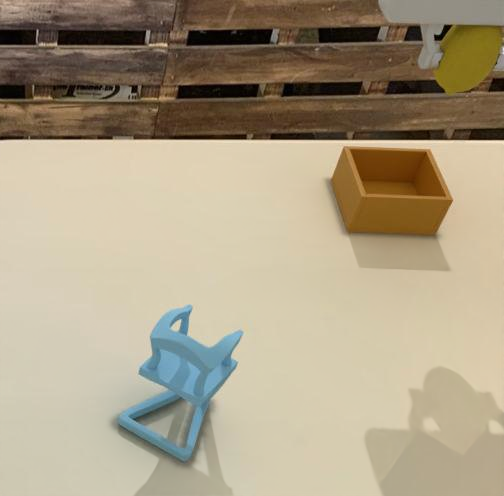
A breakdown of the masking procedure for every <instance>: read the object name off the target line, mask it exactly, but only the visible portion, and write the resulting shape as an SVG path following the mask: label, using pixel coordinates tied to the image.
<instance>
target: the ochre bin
mask: <svg viewBox="0 0 504 496" xmlns="http://www.w3.org/2000/svg"><path fill="white" fill-rule="evenodd" d="M332 173H333V174H332V176H331V178H330V183H331V187H332V190H333V192H334V195H335V198H336V203H337V204H338V208H339V211H340V214H341V217H342V220H343V222H344V226H345V229H346V232H347V233H371V234H394V235H396V234H398V235H420V236H421V235H423V236H424V235H425V236H436V235H437V233H438V231H439V229H440V227H441V226H442V223H443V221H444V219H445V218H446V215H447V213H448V211H449V209H450V208H451V206H452V204H453V202H454V198H453V196H452V194H451V192H450V190H449V187H448V185H447V183H446V181H445V179H444V176H443V174H442V172H441V170H440V168H439V166H438V163H437V161H436V159H435V157H434V155H433V153H432V150H431V149H430V148H408V147H407V148H406V147H405V148H404V147H377V146H354V145H353V146H350V145H343V148H342V150H341V153H340V156H339V158H338V160H337V162H336V166H335V168H334V171H333V172H332Z"/></svg>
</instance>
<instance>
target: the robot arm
mask: <svg viewBox="0 0 504 496" xmlns="http://www.w3.org/2000/svg"><path fill="white" fill-rule="evenodd" d="M377 3H378V6H379V9H380V13H382V15H383V16H384V19H385V20H386V21H387V22H388V23H390V24H417V25H418V24H419V27H420V32H421V39H422V49H421V51H420V54H419V56H418V58H417V65H418V67H419V69H420V70H433V69H437V68H438V65H439V63H438V62H439V61H440V60H441V59H442V56H443V54H444V52H443V50H442V49H440V48H441V47H440V43H436V42H435V41H436V40H435V36H439V35H441V34H442V32H443V29H444V27H445V25H454V24H455V25H492V26H501V27H504V0H377ZM491 72H504V44H502V46H501V50H500V53H499V56H498V59H497V61H496V63H495V65H494V67H493V69H492V70H491Z"/></svg>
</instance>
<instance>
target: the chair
mask: <svg viewBox="0 0 504 496" xmlns="http://www.w3.org/2000/svg"><path fill="white" fill-rule="evenodd" d="M193 309H194V305H193V304H186V305H185V306H183V307H179V308H174V309H170V310H169V311H166V312H165V313H164V314H163V315H161V317H160V318H159V319H158V321H157V322H156V324H155V325H154V327H153V329H152V330H151V332H150V335H149V340H150V347H151V356H150V357H149V358H148V359H146V361H144V362H143V363H142V364H141V365H140V366H139V368H138V373H137V375H139V376H141V377H143V378H144V379H146V380H148V381H150V382H152V383H154V384H157V385H158V386H162V387H163V388H165V389H166V391H164V392H162V393H160V394H157V395H156V396H153V397H150V398H149V399H146V400H145V401H143V402H140V403H138V404H136V405H134V406H132V407H130V408H128V409H126V410H124V411H122V413H120V415H119V416H118V420H117V424H118V425H119V426H120V427H122V428H124V429H125V430H128V431H129V432H130V433H133V434H134V435H136V436H138V437H139V438H141V439H143V440H144V441H146V442H148V443H149V444H152V445H153V446H155V447H157V448H159V449H161V450H162V451H164V452H166V453H167V454H169V455H170V456H173V457H175V458H176V459H178V460H180V461H182V462H187V461H189V459H190V458H191V456H192V453H193V452H194V449H195V445H196V442H197V439H198V436H199V432H200V429H201V426H202V422H203V421H204V416H205V414H206V412H207V410H208V407H209V405H210V404H211V403H210V402H211V399H212V398H213V397H214V396H215V395H216V394H217V393H218V392H219V390H220V389H221V388H222V387H223V386H224V385H225V383H226V382H227V380H228V379H229V378H230V377H231V375H232V373H234V371H235V370H236V369H237V366H238V364H239V361H238V360H236V359H235V358H232V355H233V352H234V351H235V349H236V348H237V346H238V345H239V343H240V341H241V339H242V338H243V335H244V331H243V330H242V329H237V330H236V331H234V332H233V333H230V334H227V335H225V336H222V338H221V339H219V340H218V342H216V343H215V344H214V345H211V346H207V345H205V344H203V343H201V342H200V341H198V340H196V339H194V338H193V337H191V336H190V335H188V333H189V325H190V316H191V313H192V311H193ZM180 320H181V322H180V325H179V329H178V330H174V329H172V327H173V325H174V324H175V323H176V322H178V321H180ZM181 398H182V399H184V400H185V401H186V402H188V403H190V404H192V405H194V406H195V408H194V412H193V416H192V420H191V424H190V427H189V430H188V435H187V439H186V442H185V446H184V447H180V446H179V445H177V444H176V443H174V442H172V441H171V440H169V439H167V438H165V437H163V436H162V435H160V434H158V433H157V432H155V431H153V430H152V429H149V428H148V427H146V426H144V425H143V424H141V423H139V422H137V421H136V420H134V419H136V418H139V417H141V416H143V415H146V414H148V413H151V412H153V411H155V410H157V409H160V408H163V407H164V406H167V405H169V404H171V403H173V402H175V401H177V400H179V399H181Z"/></svg>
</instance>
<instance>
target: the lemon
mask: <svg viewBox="0 0 504 496" xmlns="http://www.w3.org/2000/svg"><path fill="white" fill-rule="evenodd" d="M503 38H504V33H503V29H502V26H492V25H455V24H452V26H451V27H450V28H449V30H448V31H447V32H446V34H445V35H444V36H443V38H442V39H441V41H440V43H439V45H440V47H441V48H440V49H442V50H443V52H444V54H443V56H442V59H441V60H440V61H439V62H438V63H439V65H438V68H437V69H432V71H433V75H434V76H433V77H434V79H435V81H436V83H437V84H438V85H439V87H441V89H443V90H444V93H445V95H447V96H453V95H456V94H457V93H464V92H468V91H470V90H472V89H475V88H476V87H478V86H479V85H480V84H481V83H482V82H483V81H485V79H487V77H488V76H489V75H490V73H491V72H492V71H491V70H492V69H493V67H494V65H495V63H496V61H497V59H498V56H499V53H500V50H501V46H503V40H504V39H503Z"/></svg>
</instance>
